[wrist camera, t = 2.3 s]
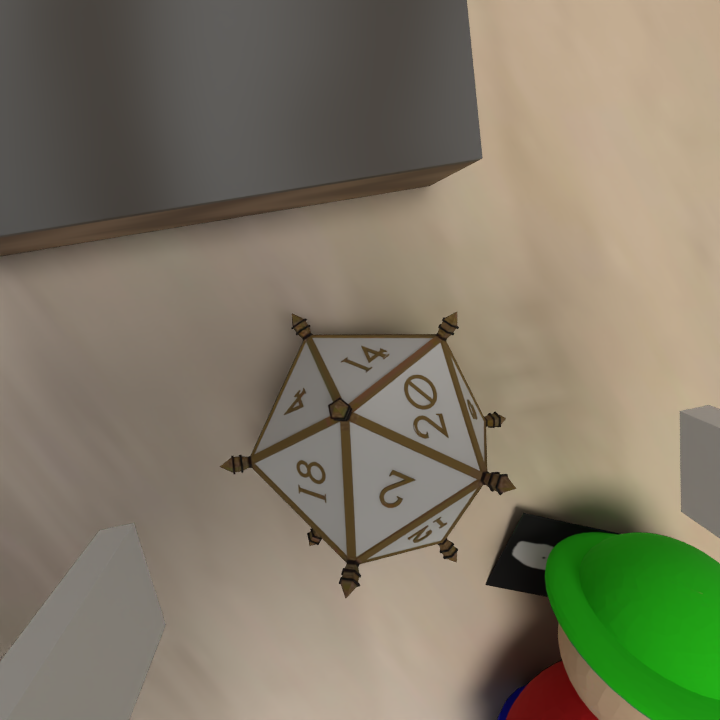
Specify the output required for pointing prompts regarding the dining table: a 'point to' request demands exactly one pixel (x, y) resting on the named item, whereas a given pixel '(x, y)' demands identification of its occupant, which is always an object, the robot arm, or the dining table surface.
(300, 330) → the game die
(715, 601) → the toy figure
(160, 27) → the dark gray square base
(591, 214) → the dining table surface
